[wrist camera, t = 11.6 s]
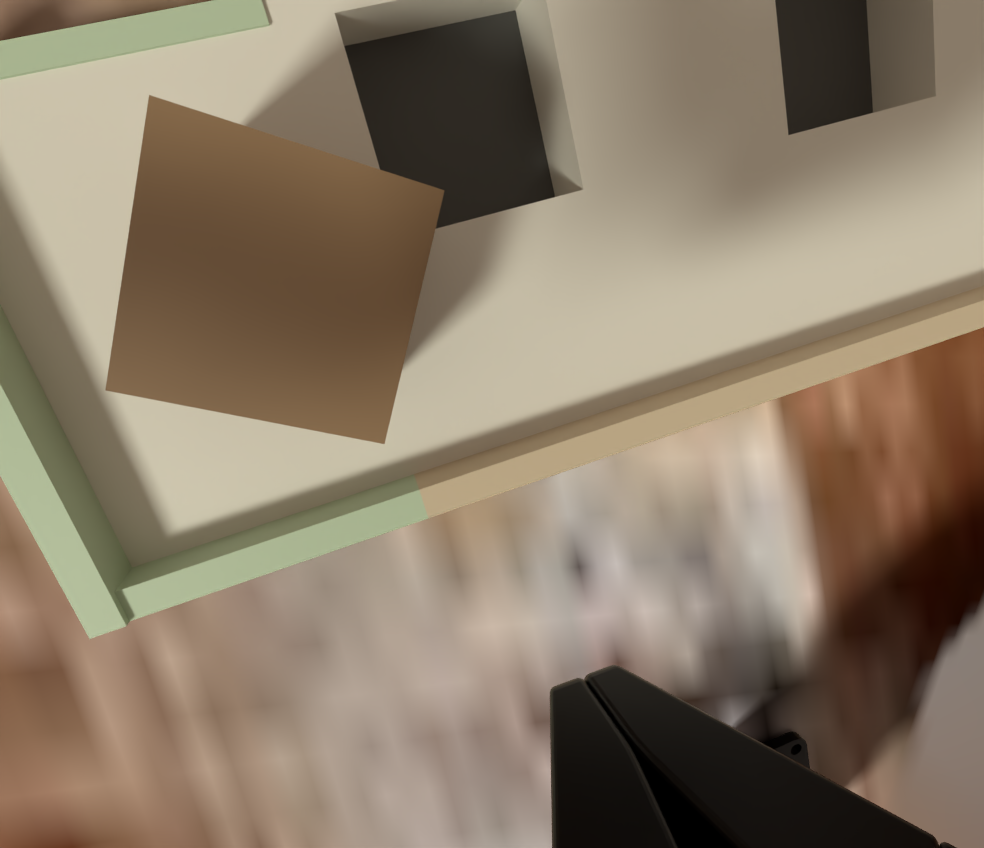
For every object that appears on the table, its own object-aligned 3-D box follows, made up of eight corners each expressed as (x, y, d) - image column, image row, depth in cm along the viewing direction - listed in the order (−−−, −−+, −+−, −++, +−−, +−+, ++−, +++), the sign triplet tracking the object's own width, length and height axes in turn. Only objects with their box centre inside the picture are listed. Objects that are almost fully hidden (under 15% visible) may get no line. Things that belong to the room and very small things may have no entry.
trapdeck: (1120, 239, 23) (1266, 232, 19) (143, 562, 17) (89, 639, 13) (1142, -140, 19) (1326, -236, 16) (-80, 108, 13) (-234, 48, 10)
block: (372, 396, 15) (384, 444, 11) (178, 354, 14) (105, 390, 10) (414, 215, 14) (444, 190, 10) (212, 154, 13) (148, 95, 9)
